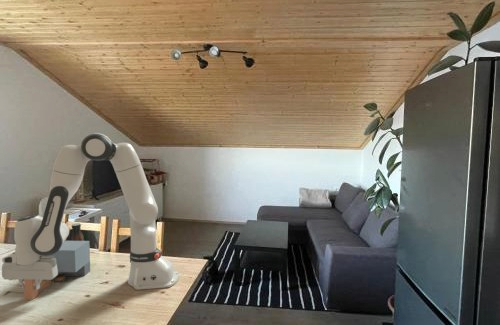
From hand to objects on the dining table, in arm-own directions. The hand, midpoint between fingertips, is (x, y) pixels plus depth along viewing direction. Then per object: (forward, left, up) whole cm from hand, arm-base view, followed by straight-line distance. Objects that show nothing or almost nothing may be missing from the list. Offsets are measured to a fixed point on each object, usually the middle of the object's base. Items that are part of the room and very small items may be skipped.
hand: (31, 288), depth 120 cm
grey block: (-2, -18, -4) cm, 18 cm away
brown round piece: (-2, -14, -4) cm, 15 cm away
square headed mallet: (0, -5, -4) cm, 6 cm away
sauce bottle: (+1, -35, -4) cm, 35 cm away
